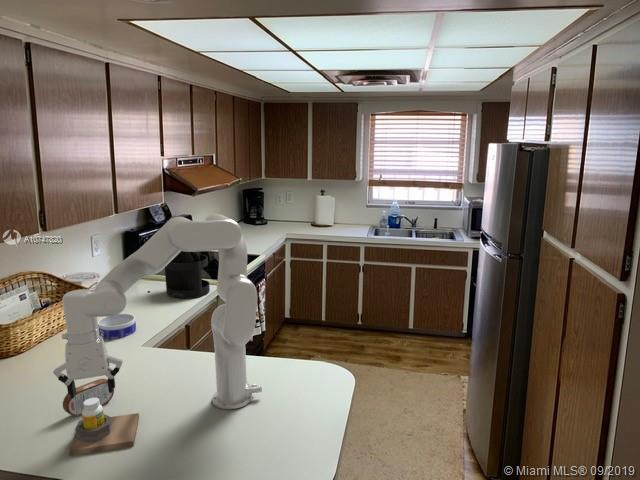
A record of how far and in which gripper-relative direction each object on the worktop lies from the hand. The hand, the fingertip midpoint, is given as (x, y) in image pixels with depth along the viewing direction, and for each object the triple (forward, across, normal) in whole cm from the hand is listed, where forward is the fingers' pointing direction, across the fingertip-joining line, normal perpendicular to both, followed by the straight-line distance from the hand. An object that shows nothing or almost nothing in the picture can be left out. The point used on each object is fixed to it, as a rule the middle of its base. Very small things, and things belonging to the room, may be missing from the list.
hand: (92, 393), depth 131 cm
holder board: (+13, +2, 0) cm, 14 cm away
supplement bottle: (+12, -1, 0) cm, 12 cm away
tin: (+14, -5, +16) cm, 21 cm away
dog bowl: (+14, -6, +79) cm, 80 cm away
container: (+15, +23, +127) cm, 130 cm away
